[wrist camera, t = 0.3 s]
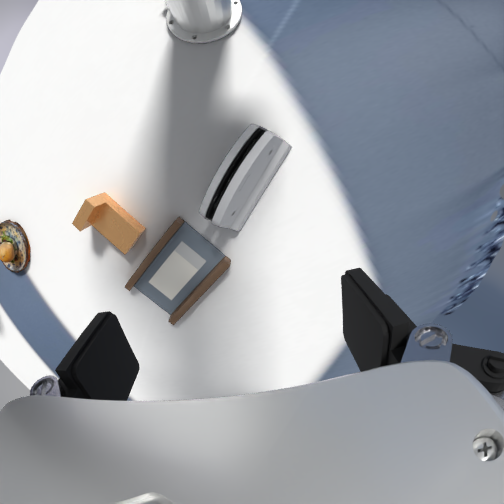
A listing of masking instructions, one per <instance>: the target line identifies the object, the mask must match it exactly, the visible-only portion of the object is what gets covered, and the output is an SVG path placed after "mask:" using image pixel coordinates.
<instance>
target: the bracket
mask: <svg viewBox="0 0 504 504" xmlns="http://www.w3.org/2000/svg"><path fill="white" fill-rule="evenodd" d="M72 224H73V225H74V226H75V227H76V228H77V229H78V230H79V231H82V230H84V229H85V228H87V227H89V226H91V225H92V226H93V227H94V228H95V229H97V230H98V231H99V232H100V233H101V234H102V235H103V236H104V237H105V238H107V239H108V240H109V241H110V242H111V243H112V244H113V245H115V246H116V247H117V248H118V249H119V250H120V251H121V252H123V253H124V254H126V253H127V252H128V251H129V250H130V249H131V248H132V247H133V245H134V244H135V243H136V241H137V240H138V238H139V237H140V236H141V234H142V233H143V232H144V230H145V229H146V228H145V227H144V226H142V225H141V224H140V223H139V222H138V221H137V220H135V219H134V218H133V217H132V216H131V215H130V214H129V213H127V212H126V211H125V210H124V209H123V208H122V207H121V206H120V205H118V204H117V203H116V202H115V201H114V200H113V199H112V198H111V197H109V196H108V195H107V194H106V193H102V194H99V195H96V196H93V197H91V198H88V199H86V200H85V202H84V203H83V205H82V207H81V208H80V210H79V212H78V214H77V216H76V217H75V219H74V221H73V223H72Z"/></svg>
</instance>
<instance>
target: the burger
mask: <svg viewBox="0 0 504 504" xmlns="http://www.w3.org/2000/svg"><path fill="white" fill-rule="evenodd" d="M29 254H30V245H29V241H28V238H27V236H26V233H25V231H24V230H23V228H22V227H21V226H20V224H18V223H16V222H12V221H10V220H6V221H4V222H2V223H1V224H0V259H1V261H2V262H3V264H4V265H5V267H6V268H7V269H8V270H11V271H12V272H19V271H21V270H24V269H25V268H26V266H27V264H28V262H29V261H30V255H29Z"/></svg>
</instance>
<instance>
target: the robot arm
mask: <svg viewBox="0 0 504 504" xmlns="http://www.w3.org/2000/svg"><path fill="white" fill-rule="evenodd" d="M165 2H166V4H167V6H168V8H169V9H168V11H167V16H166V21H167V25H168V27H169V29H170V31H171V32H172V33H173V34H174V35H175V36H176V37H178V38H179V39H181V40H184V41H186V42H191V43H207V42H211V41H215V40H218V39H220V38H222V37H224V36H226V35H228V34H229V33H230V32H232V31H233V30H234V29H235V28H236V26H237V25H238V23H239V22H240V19H241V16H242V5H241V2H240V0H165ZM235 4H237V5H235ZM172 23H173V24H172ZM227 28H229V29H227ZM194 38H196V39H194ZM341 285H342V306H343V334H344V338H345V341H346V343H347V345H348V347H349V349H350V351H351V353H352V355H353V357H354V359H355V361H356V363H357V365H358V367H359V369H360V371H361V372H358V373H354V374H350V375H345V376H341V377H337V378H333V379H328V380H324V381H320V382H315V383H310V384H305V385H300V386H295V387H290V388H284V389H278V390H272V391H266V392H259V393H252V394H244V395H236V396H227V397H217V398H205V399H190V400H169V401H127V399H128V396H129V394H130V391H131V389H132V386H133V384H134V381H135V379H136V377H137V374H138V372H139V363H138V361H137V359H136V357H135V355H134V353H133V351H132V349H131V347H130V345H129V343H128V341H127V339H126V336H125V334H124V332H123V330H122V328H121V326H120V323H119V321H118V319H117V317H116V315H114V314H112V313H111V312H110V311H109V312H101V313H98V314H97V315H96V316H95V317H94V319H93V320H92V321H91V322H90V324H89V325H88V326H87V328H86V329H85V330H84V331H83V333H82V334H81V335H80V337H79V338H78V339H77V341H76V342H75V343H74V345H73V346H72V347H71V349H70V350H69V352H68V353H67V354H66V356H65V357H64V358H63V360H62V361H61V363H60V364H59V365H58V367H57V368H56V370H55V371H56V372H57V374H58V375H59V377H60V379H59V380H57V378H56V377H54V376H45V377H42V378H41V379H39V380H38V381H36V382H35V383H34V385H33V386H32V388H31V390H30V396H26V397H21V398H18V399H15V400H12V401H10V402H9V403H7V404H6V405H5V406H4V407H3V409H2V410H1V411H0V504H504V353H501V352H497V351H491V350H484V349H479V348H473V347H467V346H461V345H456V344H452V341H453V339H452V335H451V333H450V331H449V330H448V329H446V328H445V327H443V326H441V325H437V324H423V325H420V326H418V327H417V326H416V325H415V324H414V323H413V322H412V321H411V320H410V318H409V317H408V316H407V315H406V314H405V313H404V312H403V311H402V310H401V308H400V307H399V306H398V305H397V304H396V303H395V302H394V301H393V300H392V299H391V298H390V296H388V295H385V294H384V293H383V292H382V290H381V289H380V288H379V287H378V286H377V285H376V284H375V283H374V282H373V281H372V280H371V279H370V278H369V277H368V276H367V274H366V273H365V272H364V271H363V270H362V269H361V268H356V269H352V270H347V271H346V272H345V275H342V276H341Z"/></svg>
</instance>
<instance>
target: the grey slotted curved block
mask: <svg viewBox="0 0 504 504" xmlns="http://www.w3.org/2000/svg"><path fill="white" fill-rule="evenodd" d="M291 148H292V147H291V146H290V145H289V144H288V143H287V142H286V141H285V140H283V139H282V138H281V137H280V136H278V135H276V134H274V133H272V132H271V131H269V130H267V129H265V128H263V127H261V126H258V125H255V124H251V125H249V126H248V128H247V129H246V130H245V131H244V132H243V133H242V135H241V136H240V137H239V139H238V140H237V141H236V143H235V144H234V145H233V147H232V148H231V150H230V151H229V152H228V154H227V156H226V157H225V159H224V160H223V162H222V164H221V165H220V167H219V169H218V170H217V172H216V174H215V176H214V178H213V180H212V182H211V184H210V186H209V188H208V190H207V192H206V194H205V197H204V199H203V202H202V204H201V207H200V210H199V213H200V214H201V215H202V216H203V217H204V218H205V219H209V220H211V221H212V224H214V225H216V226H219V227H223V228H230V229H233V230H235V231H240V230H241V228H242V227H243V225H244V223H245V222H246V220H247V219H248V217H249V215H250V214H251V212H252V210H253V209H254V207H255V205H256V204H257V202H258V201H259V199H260V197H261V196H262V194H263V192H264V191H265V189H266V188H267V186H268V184H269V183H270V181H271V180H272V178H273V176H274V175H275V173H276V171H277V170H278V168H279V167H280V165H281V164H282V162H283V160H284V159H285V157H286V156H287V154H288V152H289V151H290V149H291Z"/></svg>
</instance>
